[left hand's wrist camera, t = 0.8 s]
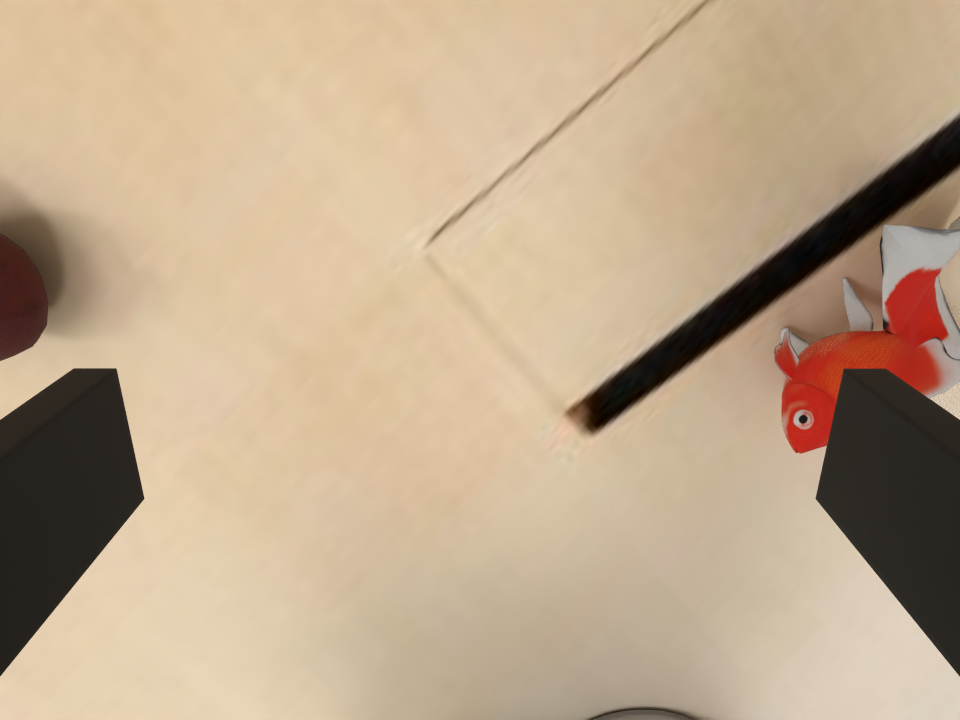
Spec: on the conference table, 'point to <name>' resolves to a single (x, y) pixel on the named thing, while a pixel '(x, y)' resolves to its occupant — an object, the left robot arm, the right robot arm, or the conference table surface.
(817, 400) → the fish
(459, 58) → the conference table surface
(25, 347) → the dark maroon ball
